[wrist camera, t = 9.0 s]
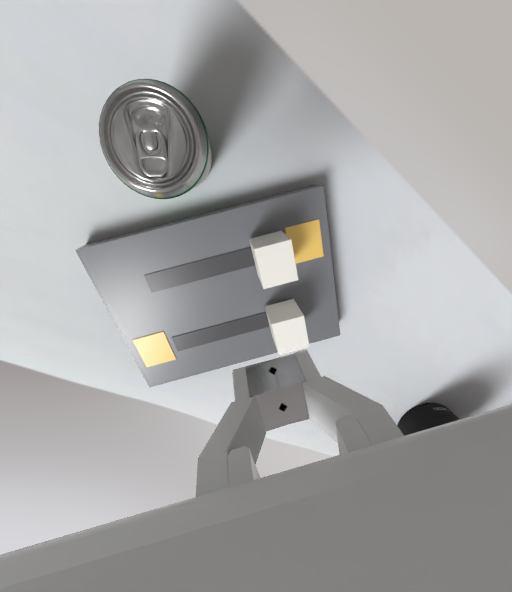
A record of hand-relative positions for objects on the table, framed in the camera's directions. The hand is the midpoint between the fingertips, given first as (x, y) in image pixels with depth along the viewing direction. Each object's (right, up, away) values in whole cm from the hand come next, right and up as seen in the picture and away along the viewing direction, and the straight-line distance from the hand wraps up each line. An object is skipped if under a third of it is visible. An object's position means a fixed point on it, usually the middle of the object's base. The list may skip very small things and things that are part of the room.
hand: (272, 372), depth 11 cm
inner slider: (+1, +7, +14) cm, 16 cm away
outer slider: (+2, +1, +17) cm, 17 cm away
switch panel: (-4, +4, +18) cm, 19 cm away
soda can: (-7, +15, +12) cm, 21 cm away
